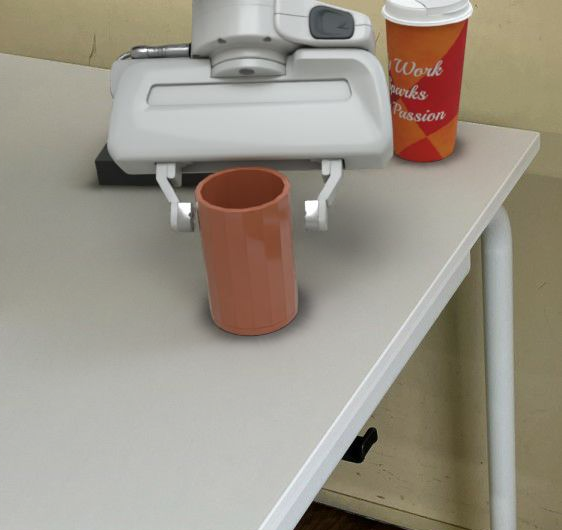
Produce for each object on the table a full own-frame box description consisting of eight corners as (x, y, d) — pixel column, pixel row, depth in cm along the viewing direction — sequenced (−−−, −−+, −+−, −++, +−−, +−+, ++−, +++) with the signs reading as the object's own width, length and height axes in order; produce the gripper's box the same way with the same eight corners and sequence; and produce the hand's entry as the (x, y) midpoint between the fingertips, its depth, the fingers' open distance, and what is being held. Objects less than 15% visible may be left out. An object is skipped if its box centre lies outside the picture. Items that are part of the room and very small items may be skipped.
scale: (98, 184, 92) (92, 154, 90) (134, 128, 101) (130, 99, 99) (227, 186, 90) (223, 155, 88) (252, 129, 99) (249, 99, 97)
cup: (202, 334, 72) (185, 210, 66) (221, 285, 77) (206, 165, 71) (290, 337, 71) (281, 212, 65) (303, 287, 76) (296, 167, 70)
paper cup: (364, 150, 94) (362, -3, 85) (420, 123, 97) (423, -26, 89) (428, 176, 89) (432, 16, 80) (484, 146, 93) (494, -9, 84)
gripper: (99, 27, 70) (91, 219, 69) (393, 15, 68) (392, 215, 66) (123, 65, 77) (116, 242, 75) (393, 55, 74) (393, 239, 73)
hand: (248, 229), depth 71 cm, fingers open, 8 cm apart
